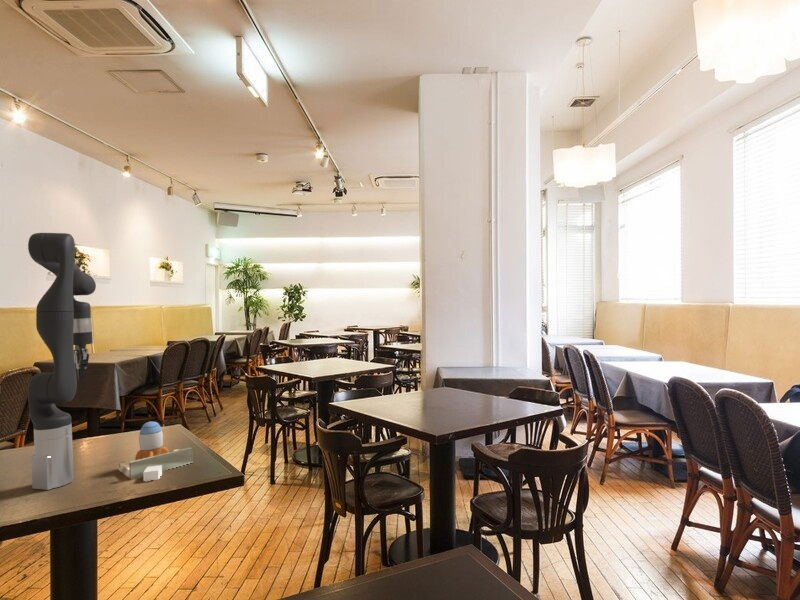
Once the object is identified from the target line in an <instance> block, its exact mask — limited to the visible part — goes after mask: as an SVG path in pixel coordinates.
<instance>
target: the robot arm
mask: <svg viewBox="0 0 800 600" xmlns="http://www.w3.org/2000/svg"><path fill="white" fill-rule="evenodd" d="M27 243H28V244H27V247H28V248H27V249H28V250H27V251H28V253H29V256H30V258H31V259H32V260H33V261H34V262H35V263H36V264H38V265H40V266H42V267H43V268H45V269H46V270H48V271H49V272H50V273H52V274H53V275H54V276H55V279H54V280H53V283H52V284H51V285H50V286H49V288H48V289H47V290H46V292H45V293H44V294H43V296H42V297H41V298H40V300H39V301H38V303H37V305H36V309H35V310H36V312H35V313H36V314H35V315H36V316H35V325H36V326H35V327H36V331H37V333H38V335H39V337H40V338H41V340H42V341H43V343H44V344H45V346H46V347H47V349H48V350H49V351H50V354H51V356H52V359H53V371H54V372H52V371H51V372H50V371H49V372H39V373H36V374H35V375H33V376H32V377H31V378H30V381H29V383H28V387H27V396H28V397H27V399H28V407H29V417H30V420H31V423H32V425H33V444H34V445H33V449H34V450H33V451H34V455H32V456H31V458H30V459H31V460H30V462H31V481H32V482H31V487H32V489H33V490H34V489H35V490H44V491H45V490H46V491H48V490H51V489H56V488H59V487H63V486H66V485H69V484H71V483H73V482H74V480H75V479H74V478H75V475H74V456H73V454H74V451H73V430H72V424H73V423H72V416H71V414H70V413H69V412H65V411H64V410H63V411H62V410H61V409H59V408H58V407H57V406H56V404H66V403H69V402H71V401H72V400H73V399H74V397H75V396H76V393H77V386H78V385H77V384H78V380H80V381H82V380H83V381H84V380H86V379H87V377H86V375H87V374H86V373H87V372H86V371H87V370H86V369H87V368H88V366H89V365H88V364H89V358H90V353H89V349H88V348H87V345H91V344H93V343H94V341H93V340H94V338H93V323H92V313H91V312H92V311H91V304H90V303H89V302H84V301H79V300H77V299H76V298H75V297H77V296H89V295H92V294H94V293H95V291H96V290H97V289H96V287H97V285H96V280H95V279H94V278H93V277H92V276H91V275H90V274H89V273H87V272H84V271H82V270H81V268H80V267H79V266H78V265H77V263H76V262H75V261H76V260H75V259H76V258H75V257H76V242H75V239H74V237H73V235H72V234H70V233H65V232H64V233H63V232H36V233H32V234H31V235H30V237H29V238H28V242H27Z"/></svg>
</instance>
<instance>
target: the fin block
mask: <svg viewBox="0 0 800 600" xmlns="http://www.w3.org/2000/svg"><path fill="white" fill-rule="evenodd" d="M162 475H163V471H162V465H159V466H150V467H147V468H146V469H145V471H144V472H143V477H142V478H143V482H144V481H145V482H152V481H151V480H153V481H159V480H160V478H161V477H162ZM160 476H161V477H160ZM158 479H159V480H158Z"/></svg>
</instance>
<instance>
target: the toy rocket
mask: <svg viewBox="0 0 800 600" xmlns="http://www.w3.org/2000/svg"><path fill="white" fill-rule="evenodd" d="M163 441H164V434H163V430H162V427H161V425H160V424H159V422H157V421H148V422H145V423H144V424H143V425H142V426H141V428H140V430H139V435H138V445H139V450H138V451H137V452H136V454H135V460H139V459H143V458H148V457H152V456H156V455H160V454H164V453H169V452H170V450H169V449H168V447H166V446H164V445H163V443H164V442H163ZM135 460H134V461H135Z"/></svg>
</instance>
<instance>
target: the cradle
mask: <svg viewBox="0 0 800 600" xmlns="http://www.w3.org/2000/svg"><path fill="white" fill-rule="evenodd" d="M193 461H194V456H193V447H190V446H189V447H186V448H181V449H179V448H176V449H173V450H172V451H169V453H164V454H160V455H156V456H152V457H148V458H143V459H139V460H131V461H129V462H128V463H127V462H126V461H120V462H118V470H119V472H120V473H122V474H123V475H124V476H125V477H128V478H129V479H130V480H136V479H138V478H139V479H140V478H143V472H144V471H145V469H146V468H147V467H150V466H159V465H162V472H165V470H166V471H169V470H168V469H170V470H173V469H172V468H174V469H176V467H178V468H180V467H179V466H181V467H184V466H183V465H185V466H187V465H186V464H189V465H191V464H190V463H193V464H194V462H193Z"/></svg>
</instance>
